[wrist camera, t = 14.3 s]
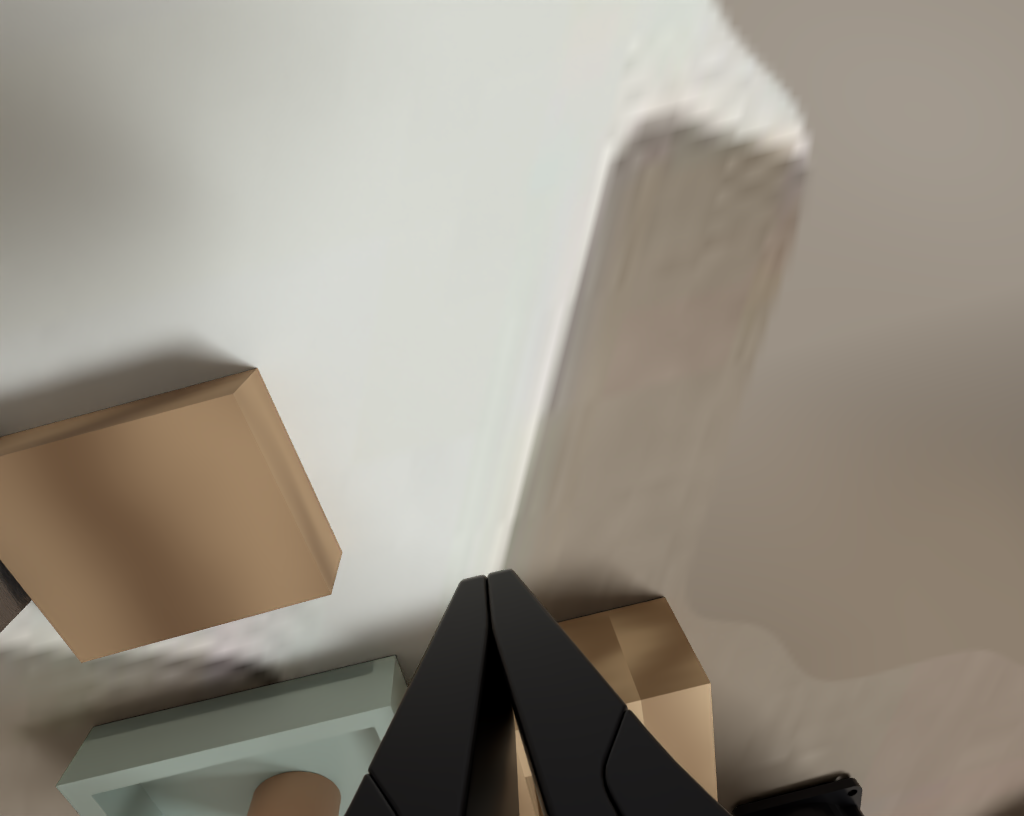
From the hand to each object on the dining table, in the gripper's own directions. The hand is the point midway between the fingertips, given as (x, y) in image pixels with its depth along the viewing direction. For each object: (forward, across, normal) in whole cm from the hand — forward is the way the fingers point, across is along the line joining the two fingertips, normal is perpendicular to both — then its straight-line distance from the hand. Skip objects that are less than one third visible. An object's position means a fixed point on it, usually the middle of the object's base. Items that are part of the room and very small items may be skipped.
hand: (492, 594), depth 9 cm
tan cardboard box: (+10, +10, +2) cm, 14 cm away
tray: (+9, +11, +16) cm, 21 cm away
